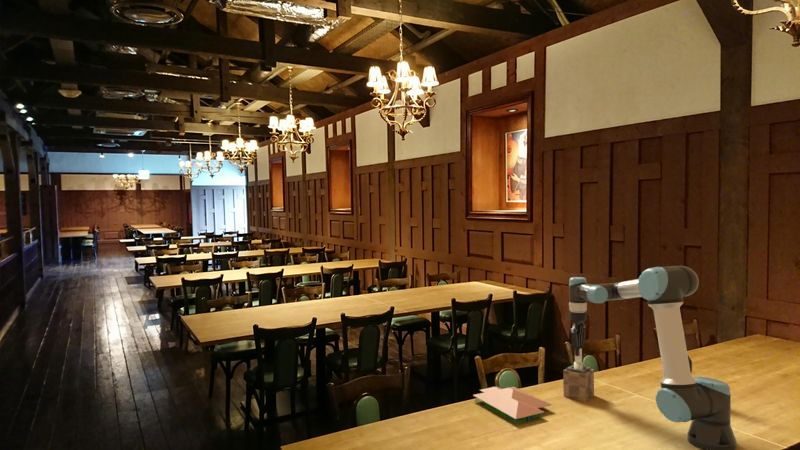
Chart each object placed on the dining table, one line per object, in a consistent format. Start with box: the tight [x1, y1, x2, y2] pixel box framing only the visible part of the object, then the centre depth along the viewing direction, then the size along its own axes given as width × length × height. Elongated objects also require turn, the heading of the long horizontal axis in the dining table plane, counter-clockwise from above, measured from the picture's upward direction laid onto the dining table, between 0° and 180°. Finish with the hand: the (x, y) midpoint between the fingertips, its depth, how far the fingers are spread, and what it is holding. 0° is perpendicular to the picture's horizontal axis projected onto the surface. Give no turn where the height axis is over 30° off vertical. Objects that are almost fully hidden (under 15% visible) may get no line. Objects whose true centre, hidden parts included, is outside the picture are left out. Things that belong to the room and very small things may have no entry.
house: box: [472, 385, 553, 425], centre depth 222 cm, size 23×33×8 cm
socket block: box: [562, 363, 595, 402], centre depth 233 cm, size 10×10×13 cm
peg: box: [573, 361, 584, 370], centre depth 233 cm, size 4×4×12 cm
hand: (578, 362), depth 233 cm, fingers closed
